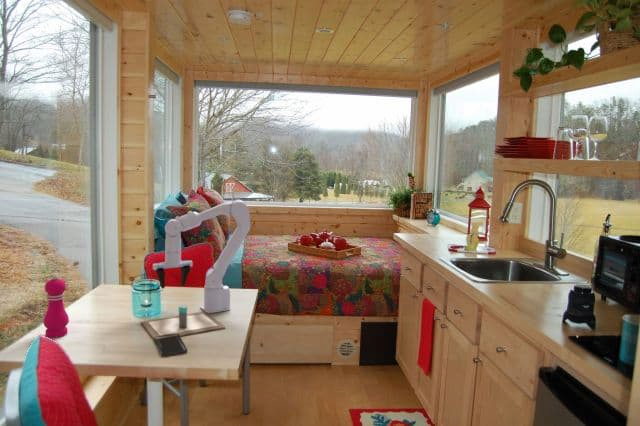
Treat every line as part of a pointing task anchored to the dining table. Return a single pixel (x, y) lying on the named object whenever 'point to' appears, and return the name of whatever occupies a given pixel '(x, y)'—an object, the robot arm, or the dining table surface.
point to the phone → (170, 345)
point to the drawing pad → (171, 326)
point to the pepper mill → (55, 308)
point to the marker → (182, 317)
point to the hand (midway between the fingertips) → (172, 286)
